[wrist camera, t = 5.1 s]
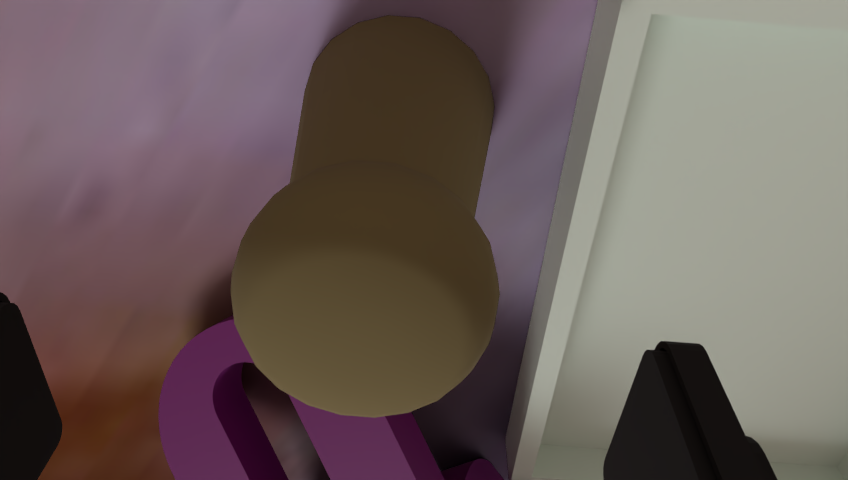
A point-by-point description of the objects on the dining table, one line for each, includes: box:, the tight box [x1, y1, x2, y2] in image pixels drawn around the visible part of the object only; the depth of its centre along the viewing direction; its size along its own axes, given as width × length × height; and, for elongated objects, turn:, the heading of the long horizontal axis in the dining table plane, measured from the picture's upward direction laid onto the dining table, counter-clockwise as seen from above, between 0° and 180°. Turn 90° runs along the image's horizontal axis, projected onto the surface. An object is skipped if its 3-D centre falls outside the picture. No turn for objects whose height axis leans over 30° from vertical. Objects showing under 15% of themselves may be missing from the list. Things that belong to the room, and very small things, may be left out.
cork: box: [231, 15, 500, 418], centre depth 16 cm, size 6×6×11 cm
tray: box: [505, 0, 848, 480], centre depth 22 cm, size 20×15×2 cm
